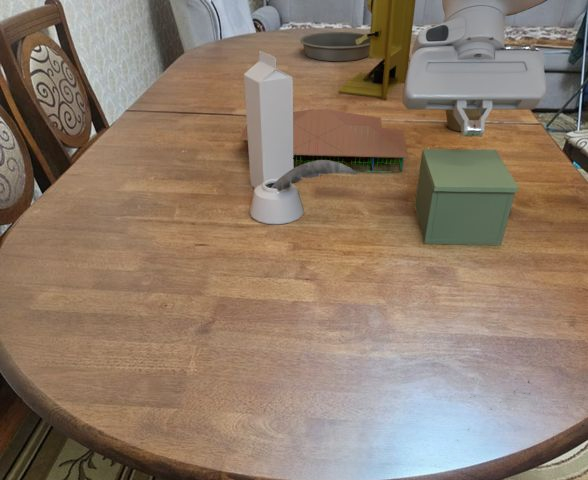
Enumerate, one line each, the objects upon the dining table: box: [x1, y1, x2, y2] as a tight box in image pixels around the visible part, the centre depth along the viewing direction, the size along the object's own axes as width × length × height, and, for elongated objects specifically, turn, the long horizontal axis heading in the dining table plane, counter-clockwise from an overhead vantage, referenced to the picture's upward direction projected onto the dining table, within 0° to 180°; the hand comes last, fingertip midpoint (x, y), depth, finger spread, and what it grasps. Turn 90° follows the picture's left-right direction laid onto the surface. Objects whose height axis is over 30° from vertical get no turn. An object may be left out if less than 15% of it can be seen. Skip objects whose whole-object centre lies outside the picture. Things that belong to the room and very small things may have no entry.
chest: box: [414, 154, 516, 246], centre depth 86 cm, size 14×12×9 cm
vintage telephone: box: [338, 0, 416, 101], centre depth 140 cm, size 31×14×30 cm, turn 155°
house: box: [238, 108, 410, 173], centre depth 111 cm, size 23×33×8 cm
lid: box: [421, 148, 519, 194], centre depth 82 cm, size 14×12×1 cm
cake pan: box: [299, 31, 370, 62], centre depth 180 cm, size 25×25×4 cm
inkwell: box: [249, 159, 358, 225], centre depth 88 cm, size 9×18×10 cm, turn 74°
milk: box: [243, 50, 295, 189], centre depth 93 cm, size 6×6×22 cm
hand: (472, 134), depth 80 cm, fingers closed
